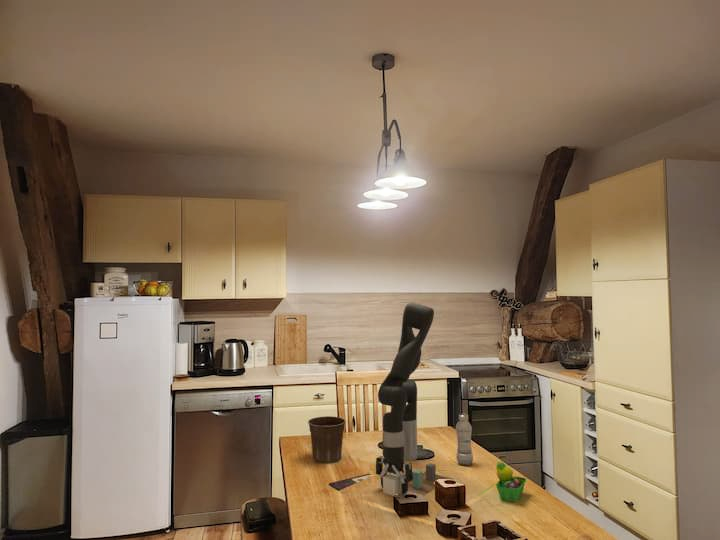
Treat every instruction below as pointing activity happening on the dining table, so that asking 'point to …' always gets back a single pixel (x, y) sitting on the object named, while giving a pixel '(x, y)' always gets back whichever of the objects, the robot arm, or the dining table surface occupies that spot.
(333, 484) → the chocolate bar
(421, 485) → the teal post
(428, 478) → the charcoal post
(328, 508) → the dining table surface
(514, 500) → the fruit basket
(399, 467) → the robot arm
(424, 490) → the stand board
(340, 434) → the plant pot
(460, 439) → the plastic bottle
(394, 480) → the cream block
